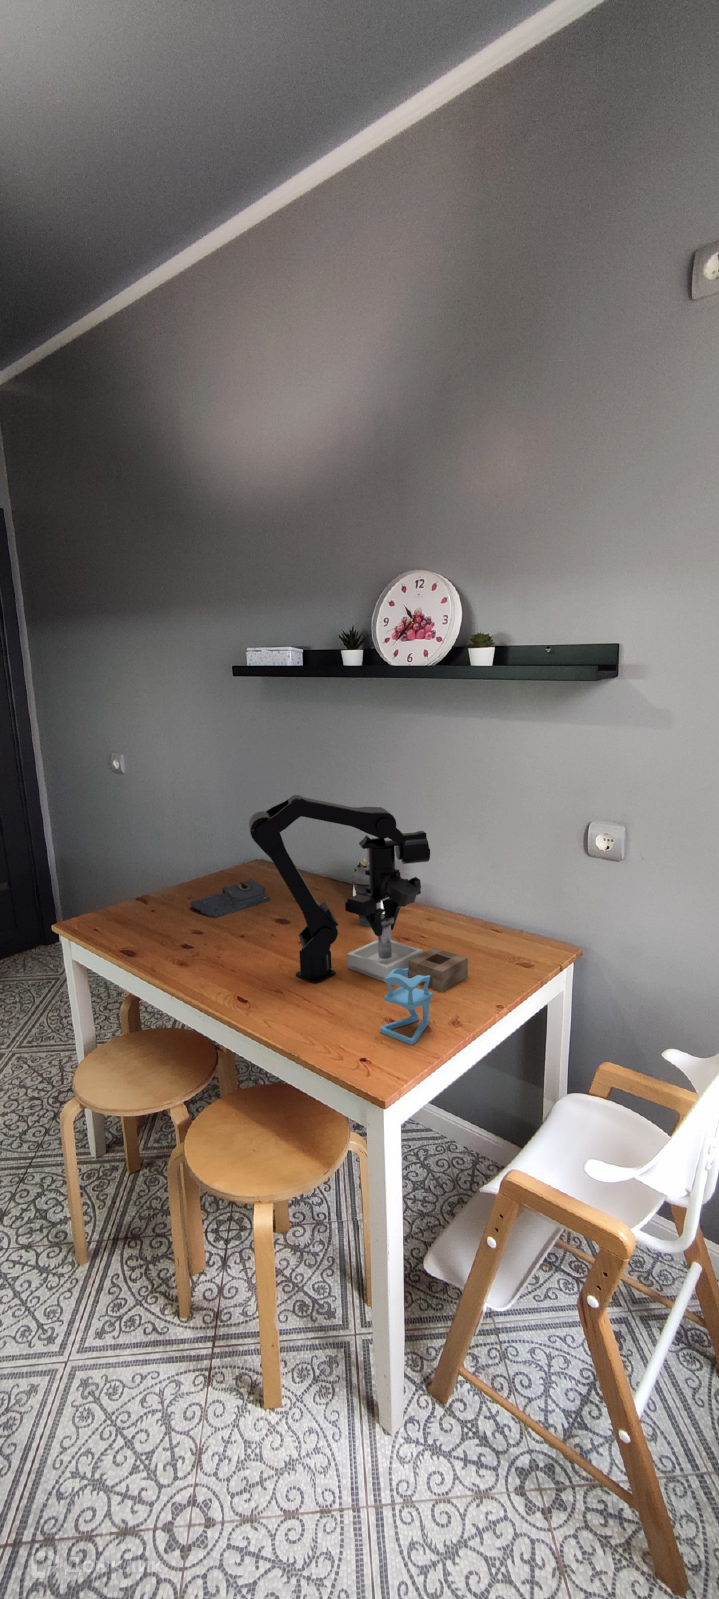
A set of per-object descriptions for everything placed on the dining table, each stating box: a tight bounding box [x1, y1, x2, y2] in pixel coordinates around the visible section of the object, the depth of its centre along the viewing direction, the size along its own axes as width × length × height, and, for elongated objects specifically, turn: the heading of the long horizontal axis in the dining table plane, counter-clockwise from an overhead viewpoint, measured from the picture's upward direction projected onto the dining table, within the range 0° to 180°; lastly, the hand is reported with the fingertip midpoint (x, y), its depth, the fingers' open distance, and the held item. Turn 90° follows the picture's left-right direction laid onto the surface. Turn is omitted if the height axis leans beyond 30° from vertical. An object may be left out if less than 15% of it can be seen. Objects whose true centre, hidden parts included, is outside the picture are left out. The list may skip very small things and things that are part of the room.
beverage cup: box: [352, 849, 371, 928], centre depth 189 cm, size 7×7×20 cm
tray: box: [346, 939, 424, 983], centre depth 164 cm, size 12×12×4 cm
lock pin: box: [377, 913, 394, 959], centre depth 163 cm, size 4×4×9 cm
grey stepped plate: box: [189, 878, 272, 919], centre depth 211 cm, size 15×22×5 cm
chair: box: [379, 968, 434, 1046], centre depth 136 cm, size 8×8×12 cm
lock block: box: [408, 947, 469, 993], centre depth 157 cm, size 9×9×4 cm
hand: (384, 932), depth 163 cm, fingers closed on lock pin, 4 cm apart
